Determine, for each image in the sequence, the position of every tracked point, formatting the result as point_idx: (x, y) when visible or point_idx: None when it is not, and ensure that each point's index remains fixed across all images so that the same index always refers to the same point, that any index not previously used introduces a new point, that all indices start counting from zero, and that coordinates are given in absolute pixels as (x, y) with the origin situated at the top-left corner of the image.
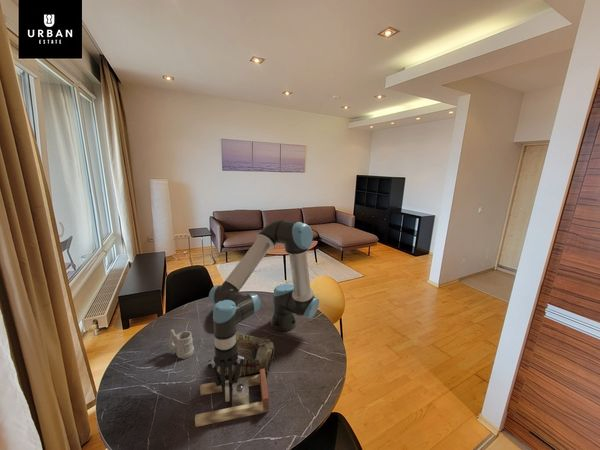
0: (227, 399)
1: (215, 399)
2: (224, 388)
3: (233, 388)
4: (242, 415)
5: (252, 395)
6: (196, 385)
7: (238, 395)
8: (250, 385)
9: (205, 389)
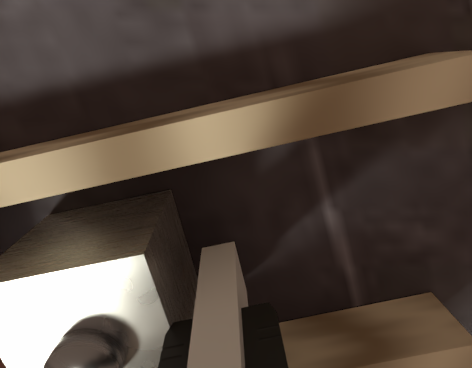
0: (217, 256)
1: (321, 266)
2: (252, 354)
3: None
4: (62, 139)
5: None
6: None
7: (77, 282)
8: None
9: (421, 331)
